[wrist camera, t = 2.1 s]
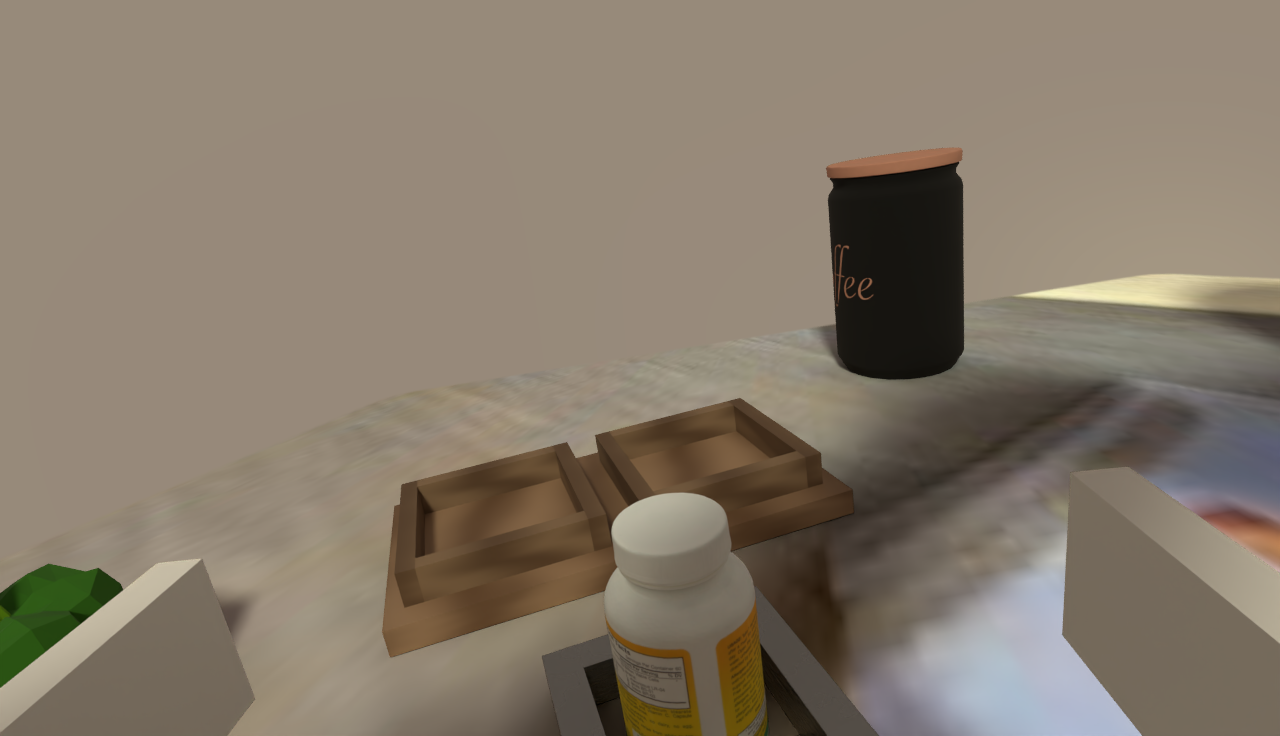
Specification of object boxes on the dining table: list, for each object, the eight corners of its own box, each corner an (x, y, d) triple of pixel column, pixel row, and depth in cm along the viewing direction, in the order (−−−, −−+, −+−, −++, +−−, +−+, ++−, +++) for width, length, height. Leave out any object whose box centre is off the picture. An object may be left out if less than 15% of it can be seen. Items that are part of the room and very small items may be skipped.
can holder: (759, 622, 32) (755, 585, 31) (895, 800, 23) (893, 753, 22) (550, 694, 30) (541, 656, 29) (607, 925, 20) (595, 876, 20)
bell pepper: (211, 704, 32) (133, 517, 29) (10, 876, 25) (-122, 652, 22) (100, 678, 35) (19, 507, 32) (-109, 824, 28) (-237, 622, 25)
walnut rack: (748, 431, 53) (743, 389, 52) (853, 512, 40) (850, 458, 39) (400, 525, 46) (386, 479, 45) (390, 657, 34) (371, 596, 32)
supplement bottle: (647, 825, 23) (601, 584, 20) (619, 709, 28) (579, 503, 25) (795, 777, 24) (771, 541, 21) (742, 673, 29) (716, 470, 26)
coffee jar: (835, 348, 69) (823, 163, 63) (950, 340, 66) (948, 145, 61) (842, 386, 59) (828, 170, 53) (977, 377, 56) (977, 149, 51)
